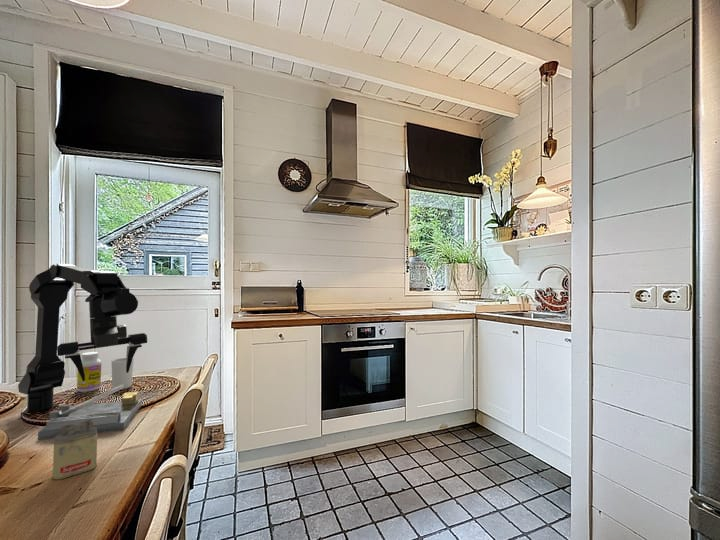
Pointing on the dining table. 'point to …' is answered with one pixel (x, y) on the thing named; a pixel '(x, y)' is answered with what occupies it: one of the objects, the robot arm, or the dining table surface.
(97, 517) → the dining table surface
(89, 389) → the supplement bottle
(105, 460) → the dining table surface
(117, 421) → the grey stone tray
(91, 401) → the strap
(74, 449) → the pale red-labelled box
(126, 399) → the pale yellow lumpy block
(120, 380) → the white cup
